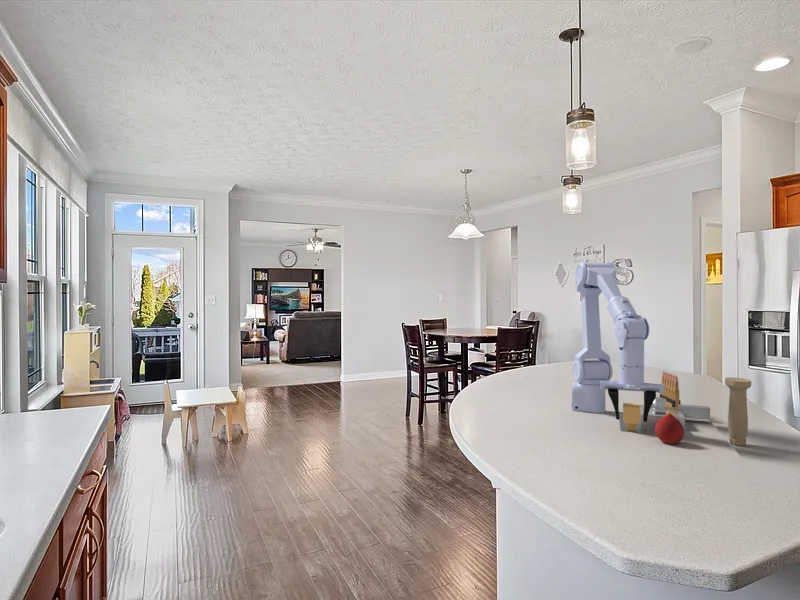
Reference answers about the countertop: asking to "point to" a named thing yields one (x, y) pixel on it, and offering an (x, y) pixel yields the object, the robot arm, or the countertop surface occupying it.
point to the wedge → (631, 415)
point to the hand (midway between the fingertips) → (631, 419)
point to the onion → (669, 429)
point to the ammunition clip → (670, 390)
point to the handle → (738, 410)
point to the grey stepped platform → (660, 410)
